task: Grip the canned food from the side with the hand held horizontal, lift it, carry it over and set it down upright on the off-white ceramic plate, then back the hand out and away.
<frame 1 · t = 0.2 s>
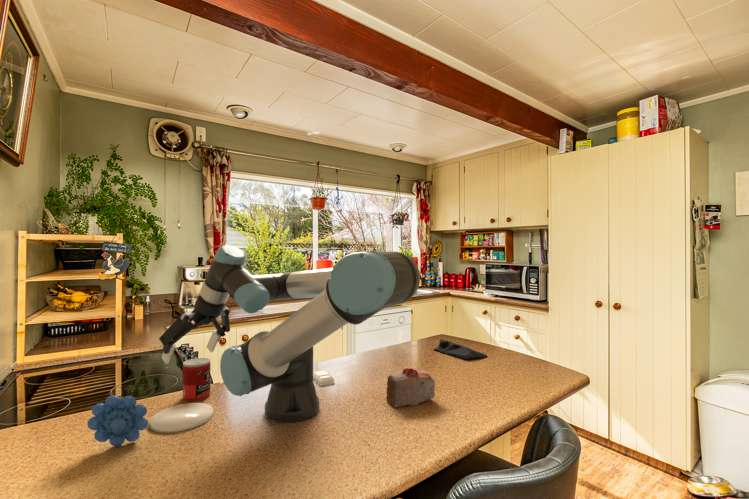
hand: (188, 354, 106), 15 cm above the counter, tool tilted 35°, fingers open, 13 cm apart
plate: (182, 418, 97), on the counter
food item: (410, 402, 108), on the counter
canned food: (196, 397, 113), on the counter
dark slate chunk: (459, 354, 160), on the counter
soap bar: (322, 382, 126), on the counter
grapes: (118, 448, 83), on the counter
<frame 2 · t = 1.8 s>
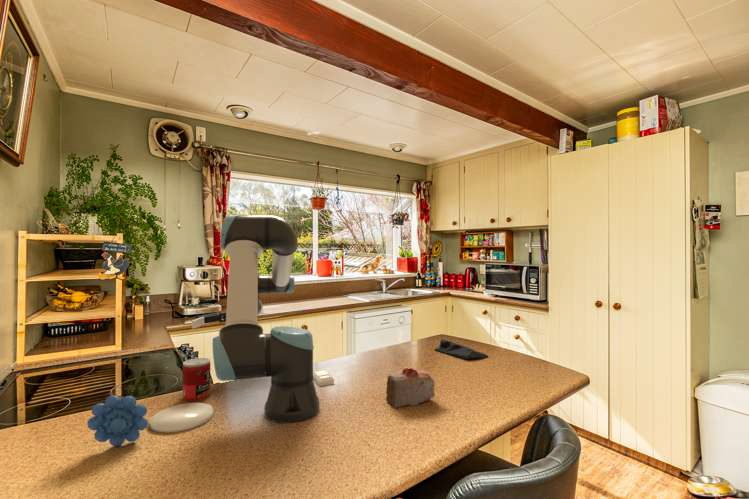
hand: (212, 325, 122), 20 cm above the counter, tool horizontal, fingers open, 13 cm apart
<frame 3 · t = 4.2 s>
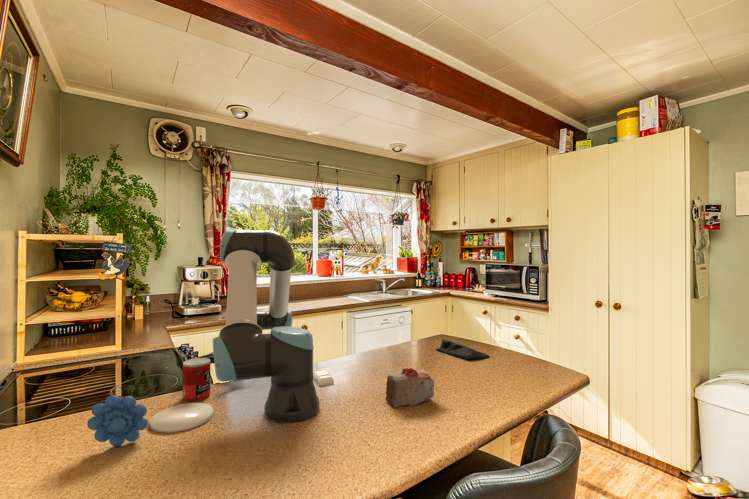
hand: (205, 370, 118), 6 cm above the counter, tool horizontal, fingers open, 13 cm apart
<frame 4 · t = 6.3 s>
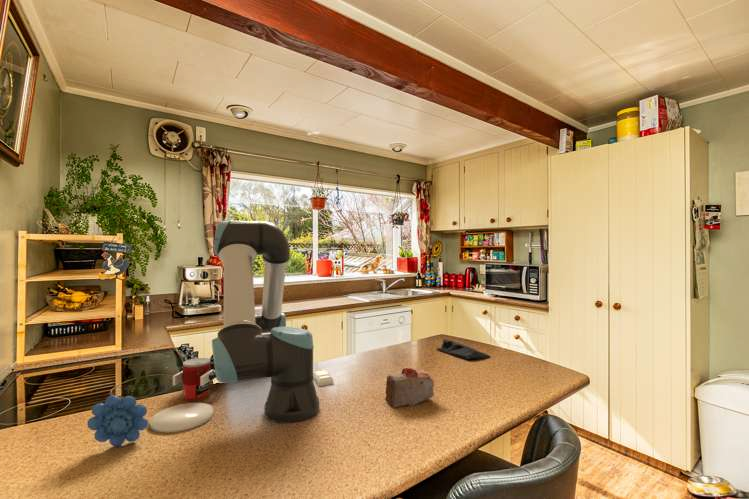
hand: (187, 380, 108), 7 cm above the counter, tool horizontal, fingers closed on canned food, 8 cm apart
canned food: (196, 397, 113), on the counter, touching gripper
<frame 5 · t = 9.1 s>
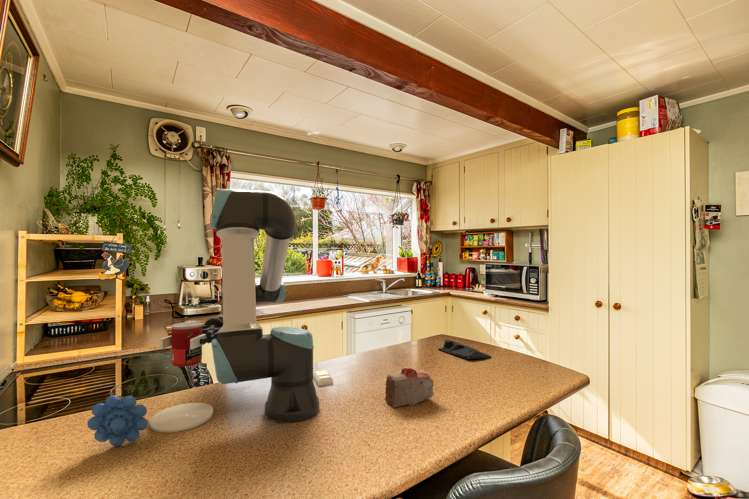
hand: (176, 344, 98), 20 cm above the counter, tool horizontal, fingers closed on canned food, 8 cm apart
canned food: (187, 363, 103), point 13 cm above the counter, touching gripper
when the fingers open (9 cm above the counter, at t = 11.9 s): canned food drops 2 cm, resting on plate.
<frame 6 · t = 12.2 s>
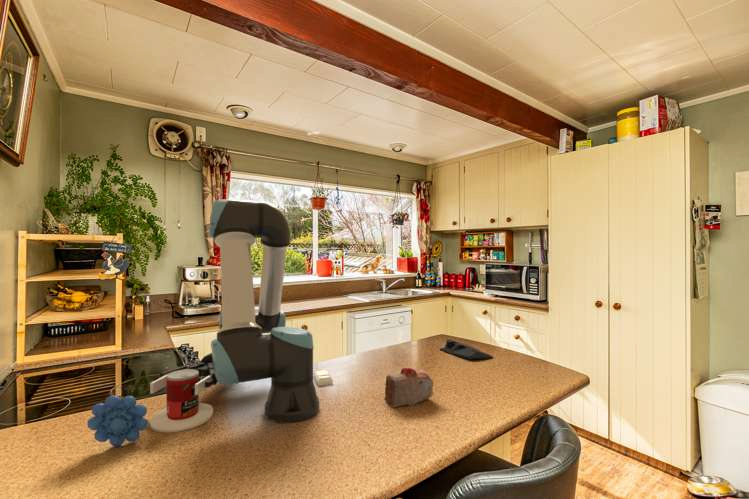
hand: (173, 388, 94), 10 cm above the counter, tool horizontal, fingers open, 11 cm apart
canned food: (182, 414, 98), point 1 cm above the counter, touching plate
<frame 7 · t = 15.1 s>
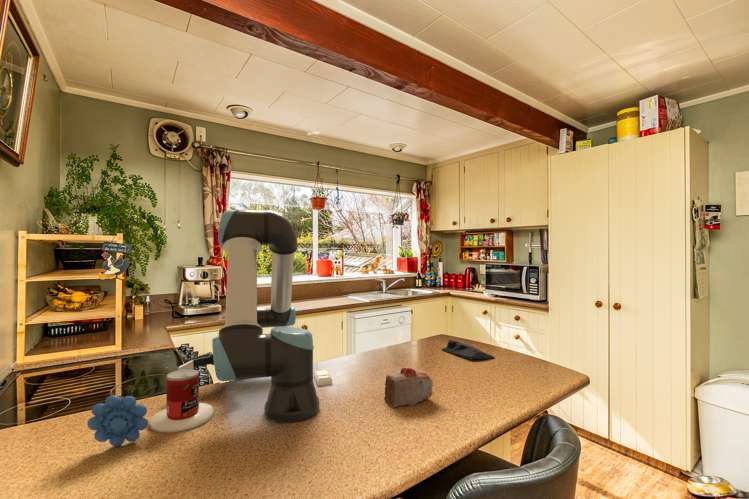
hand: (201, 372, 107), 10 cm above the counter, tool horizontal, fingers open, 13 cm apart
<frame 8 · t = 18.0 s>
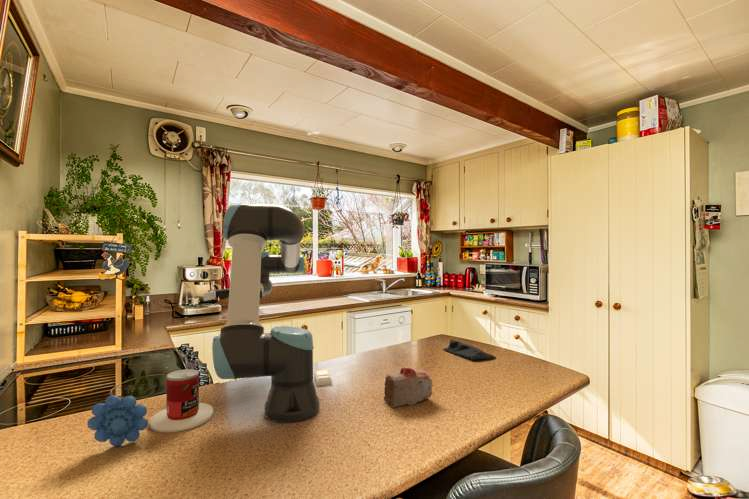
hand: (223, 296, 122), 30 cm above the counter, tool horizontal, fingers open, 13 cm apart
at the end: canned food inside the target area on the plate (0.1 cm from its centre), point 1.0 cm above the plate's base; canned food tilted 0°; the gripper is holding nothing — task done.
